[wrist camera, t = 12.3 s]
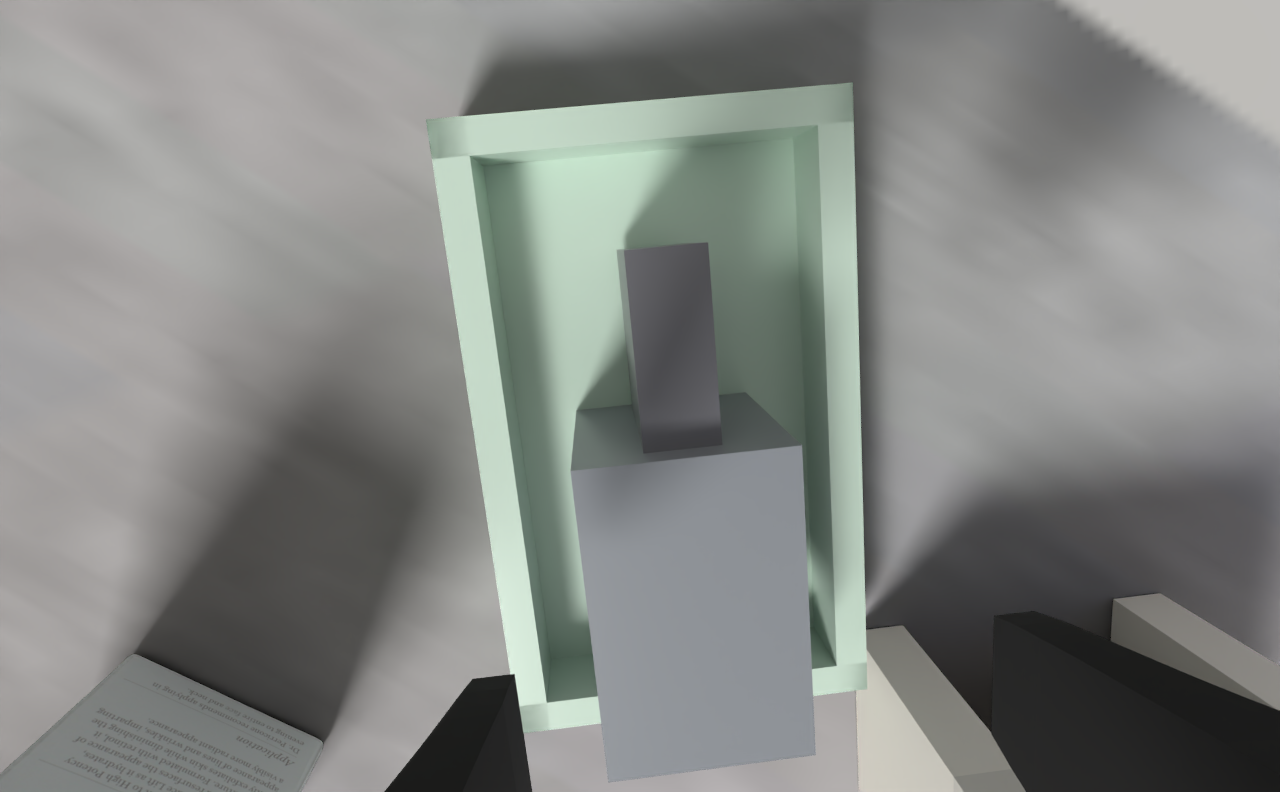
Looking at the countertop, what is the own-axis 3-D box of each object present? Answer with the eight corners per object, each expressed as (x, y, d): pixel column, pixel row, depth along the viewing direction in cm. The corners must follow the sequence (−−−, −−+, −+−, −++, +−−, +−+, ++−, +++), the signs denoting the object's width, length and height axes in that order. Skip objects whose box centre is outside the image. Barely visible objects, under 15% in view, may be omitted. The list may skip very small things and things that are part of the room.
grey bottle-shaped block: (736, 238, 17) (792, 234, 12) (760, 629, 20) (815, 755, 15) (558, 255, 17) (544, 258, 12) (604, 648, 19) (608, 782, 15)
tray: (815, 105, 17) (852, 82, 15) (834, 636, 21) (867, 689, 18) (449, 138, 17) (425, 119, 14) (528, 674, 20) (519, 733, 18)
